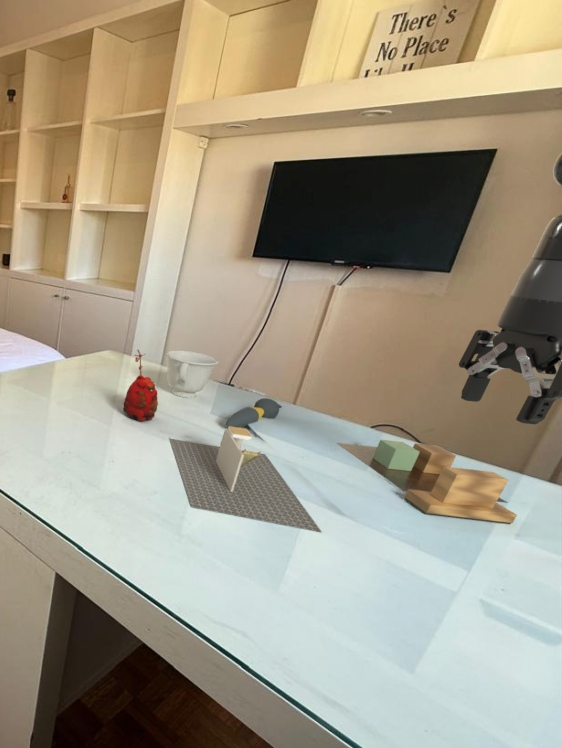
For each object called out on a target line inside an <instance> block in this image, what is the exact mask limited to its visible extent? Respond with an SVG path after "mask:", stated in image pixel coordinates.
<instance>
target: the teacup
mask: <svg viewBox="0 0 562 748" xmlns="http://www.w3.org/2000/svg"><path fill="white" fill-rule="evenodd" d="M166 356H167V358H168V365H167V377H166V378H167V379H166V380H167V383H168V386H170V387H171V388H172V389H171V393H172V394H173V395H175V396H178V397H180V398H187V399H188V398H189V399H190V398H195V397H196V393H198V392H201V391H202V390H204V389H205V388H206V385H207V383H208V381H209V379H210V376H211V373H212V372H213V369H214V367H215V366H217V365H218V364H219V361H218V360H217V358H215V357H213V356H210V355H208V354H204V353H199V352H194V351H188V350H170V351H168V352H167V353H166Z"/></svg>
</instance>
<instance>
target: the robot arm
mask: <svg viewBox="0 0 562 748" xmlns="http://www.w3.org/2000/svg"><path fill="white" fill-rule="evenodd" d="M552 178H553V181H554V182H555V183H556V184H557V185H559V186H560V187H561V188H562V151H561V152H560V153H559V155H558V156H557V158H556V159H555V161H554V163H553V166H552ZM533 251H534V252H533V253H532V255H531V258H530V259H529V261H528V263H527V265H526V266H525V268H524V269H523V270H522V272H521V273H520V275H519V277H518V279H517V281H516V283H515V285H514V287H513V289H512V292H511V293H510V296H509V298H508V300H507V302H506V304H505V306H504V308H503V310H502V312H501V315H500V317H499V318H498V321H497V323H496V324H497V326H498V328H500V329H501V330H500V331H496V330H489V329H488V330H487V329H477V330H475V332H474V334H473V335H472V337H471V339H470V341H469V343H468V345H467V347H466V349H465V350H464V353H463V355H462V356H461V358H460V360H459V362H458V367H459V368H462V369H465V370H466V371H467V372H466V373H467V374H468V377H467V378H466V381H465V384H464V386H463V387H462V390H461V396H460V399H461V400H464V401H466V402H473V403H477V402H480V401H481V400H482V398H483V396H484V394H485V392H486V390H487V388H488V387H489V384H490V382H491V378H489V377H492V376H493V375H494V374H496V373H498V372H499V371H503V370H507V369H508V370H511V371H512V372H515V373H517V374H522V379H523V380H524V381H526V382H527V383H528V387H529V392H530V395H527V397H526V399H525V401H524V403H523V405H522V407H521V408H520V411H519V412H518V414H517V416H516V421H517V422H519V423H520V424H527V425H537V424H539V423H541V422H543V421H544V420H545V419H546V417H547V415H548V413H549V411H550V410H551V408H552V406H553V404H554V403H555V402H556V401H557V400H562V213H560V214H558V215H556V216H554V217H553V218H552V219H550V220H549V222H548V223H547V225H546V226H545V229H544V230H543V232H542V235H541V237H540V239H539V241H538V242H537V245H536V247H535V249H534V250H533ZM475 356H476V357H475ZM474 357H475V359H474ZM473 359H474V360H473ZM543 372H544V373H543Z"/></svg>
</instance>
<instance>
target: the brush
mask: <svg viewBox="0 0 562 748" xmlns="http://www.w3.org/2000/svg"><path fill="white" fill-rule="evenodd" d="M508 482H509V479H507V478H506V477H504V476H502V475H500V474H498V473H496V472H494V471H488V470H480V469H469V468H460V467H452V466H451V467H443V469H442V471H441V473H440V475H439V477H438V479H437V481H436V483H435V485H434V487H433V490H432V492H429V491H420V490H411V489H408V490H407V491H406V493H405V495H404V501H406V502H407V503H408V504H409V505H411V506H412V507H414V509H416V510H418V511H419V512H420V513H422V514H423V515H427V516H437V517H442V518H443V517H444V518H453V519H460V520H470V521H478V522H487V523H495V524H504V525H511V524H513V523H514V521H515V520H516V518H517V516H518V514H517V513H515V512H513V511H511V510H510V509H508V508H507V507H505V506H504V505H502V504H500V503H498V502H497V500H498V498H500V496H501V495H502V493H503V491H504V489H505V487H506V485H507V483H508Z"/></svg>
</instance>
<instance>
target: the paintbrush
mask: <svg viewBox="0 0 562 748" xmlns="http://www.w3.org/2000/svg"><path fill="white" fill-rule="evenodd" d="M282 407H283V406H282V405H280V404H278V402H277V401H276V400H273V399H271V398H268V397H267V398H266V397H265V398H264V397H263V398H260V399H258V400H257V401H256V402H255V403H254V405H253V406H250V407H249V406H248V407H245V408H242V409H240V410H238V411H236V412H235V413H233V414H232V415H230V416H229V417H228V418H227V419H226V421H225V427H226V428H228V426H231V427H238V428H244V427H248V426H249V425H251V424H254V423H257V422H259V420H260V419H261V418H265V419H275V418H277V416H278V415H279V413H280V409H281V408H282Z"/></svg>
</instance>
